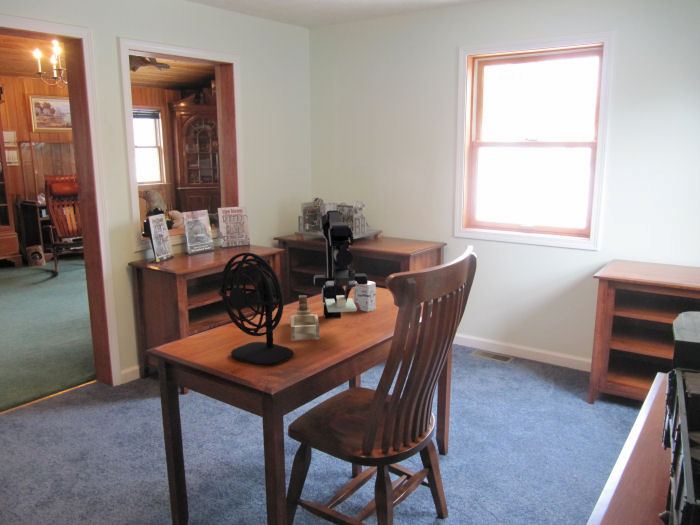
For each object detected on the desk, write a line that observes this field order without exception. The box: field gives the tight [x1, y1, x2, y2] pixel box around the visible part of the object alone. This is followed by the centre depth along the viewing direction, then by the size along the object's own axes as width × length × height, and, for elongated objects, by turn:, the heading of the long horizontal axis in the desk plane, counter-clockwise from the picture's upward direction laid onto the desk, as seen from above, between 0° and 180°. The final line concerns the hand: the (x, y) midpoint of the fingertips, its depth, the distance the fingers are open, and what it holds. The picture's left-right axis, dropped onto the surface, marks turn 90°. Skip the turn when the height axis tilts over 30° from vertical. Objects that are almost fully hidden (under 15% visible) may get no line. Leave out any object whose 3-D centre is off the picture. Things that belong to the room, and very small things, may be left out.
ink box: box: [353, 280, 377, 313], centre depth 234 cm, size 9×5×12 cm, turn 47°
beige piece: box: [290, 306, 321, 341], centre depth 207 cm, size 10×20×6 cm, turn 7°
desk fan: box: [217, 252, 295, 367], centre depth 179 cm, size 27×18×35 cm, turn 54°
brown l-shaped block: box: [298, 294, 308, 310], centre depth 216 cm, size 3×7×4 cm, turn 7°
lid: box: [325, 295, 358, 313], centre depth 201 cm, size 10×14×4 cm
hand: (340, 302), depth 200 cm, fingers closed on lid, 3 cm apart
